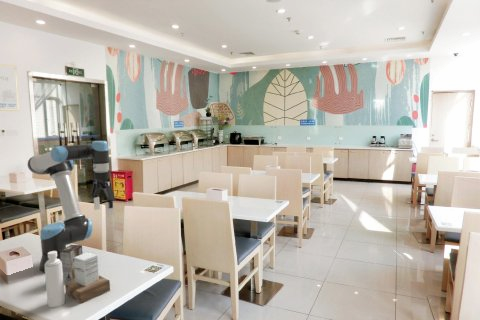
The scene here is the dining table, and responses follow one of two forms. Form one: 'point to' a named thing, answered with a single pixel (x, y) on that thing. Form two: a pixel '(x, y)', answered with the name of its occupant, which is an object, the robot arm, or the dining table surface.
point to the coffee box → (69, 261)
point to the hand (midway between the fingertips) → (103, 211)
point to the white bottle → (54, 280)
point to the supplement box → (86, 269)
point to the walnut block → (87, 289)
